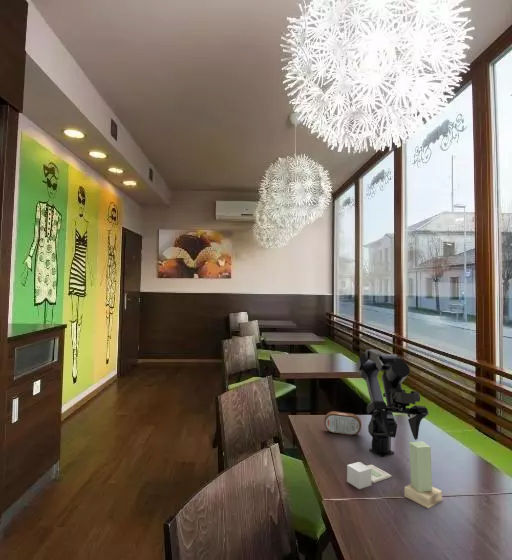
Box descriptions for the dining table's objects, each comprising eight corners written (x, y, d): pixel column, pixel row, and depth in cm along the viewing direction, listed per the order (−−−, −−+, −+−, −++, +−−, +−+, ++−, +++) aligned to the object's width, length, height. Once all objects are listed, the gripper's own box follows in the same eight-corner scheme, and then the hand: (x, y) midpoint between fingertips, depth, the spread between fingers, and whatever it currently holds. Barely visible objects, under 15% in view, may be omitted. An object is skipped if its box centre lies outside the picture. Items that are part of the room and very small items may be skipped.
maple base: (418, 490, 107) (418, 480, 107) (441, 501, 101) (441, 490, 101) (404, 497, 103) (404, 486, 103) (428, 509, 97) (428, 498, 97)
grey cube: (358, 478, 112) (359, 461, 113) (371, 485, 108) (371, 468, 108) (346, 481, 110) (347, 465, 110) (359, 489, 106) (359, 472, 106)
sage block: (411, 484, 104) (409, 442, 105) (424, 483, 104) (422, 441, 105) (418, 492, 100) (417, 447, 101) (432, 491, 100) (430, 446, 101)
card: (371, 466, 120) (371, 463, 120) (391, 476, 113) (391, 474, 113) (353, 471, 116) (353, 469, 116) (373, 483, 109) (373, 480, 109)
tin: (361, 434, 148) (361, 413, 149) (361, 437, 145) (361, 416, 146) (324, 430, 152) (324, 409, 153) (323, 432, 149) (323, 412, 150)
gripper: (378, 376, 114) (387, 428, 104) (432, 383, 116) (445, 434, 107) (363, 389, 122) (369, 437, 113) (413, 395, 125) (424, 443, 115)
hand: (402, 438), depth 112 cm, fingers open, 9 cm apart
